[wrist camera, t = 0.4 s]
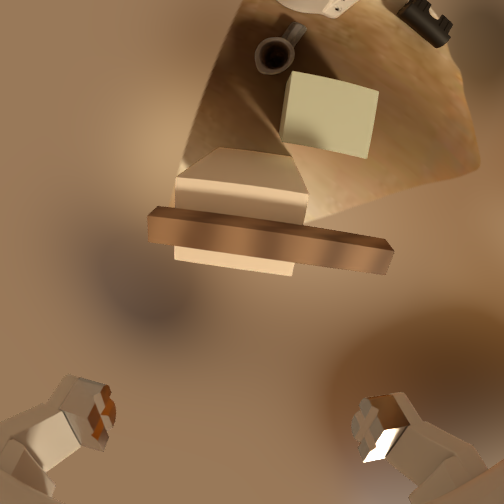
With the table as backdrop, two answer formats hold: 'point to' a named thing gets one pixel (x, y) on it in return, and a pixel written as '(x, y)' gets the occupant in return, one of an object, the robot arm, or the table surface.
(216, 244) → the walnut bar
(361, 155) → the low stool
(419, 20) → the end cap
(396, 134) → the table surface
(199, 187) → the tall stand
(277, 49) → the pipe
